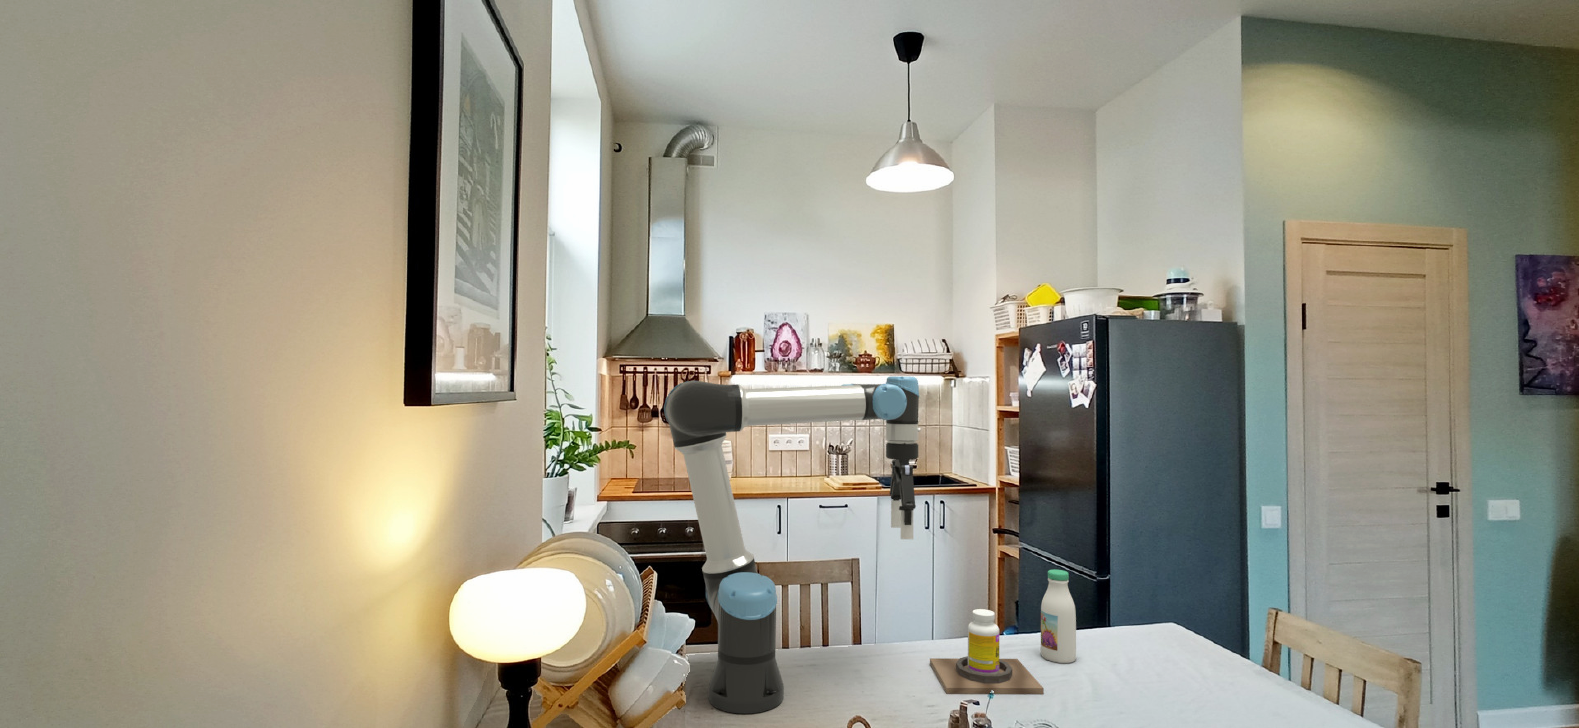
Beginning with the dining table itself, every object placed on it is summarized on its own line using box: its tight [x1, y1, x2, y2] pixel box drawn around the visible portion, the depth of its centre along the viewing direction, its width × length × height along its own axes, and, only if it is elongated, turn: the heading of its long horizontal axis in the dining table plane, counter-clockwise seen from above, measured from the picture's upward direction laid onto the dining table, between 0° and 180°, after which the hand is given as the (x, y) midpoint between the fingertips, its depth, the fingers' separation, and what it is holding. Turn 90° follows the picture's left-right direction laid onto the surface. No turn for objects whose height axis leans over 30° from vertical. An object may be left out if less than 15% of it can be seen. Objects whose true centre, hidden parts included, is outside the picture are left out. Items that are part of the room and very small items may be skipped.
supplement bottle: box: [967, 608, 1000, 674], centre depth 155 cm, size 7×7×13 cm
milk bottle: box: [1040, 569, 1077, 664], centre depth 168 cm, size 8×8×20 cm
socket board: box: [929, 655, 1045, 695], centre depth 155 cm, size 20×16×3 cm
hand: (901, 533), depth 167 cm, fingers open, 13 cm apart
